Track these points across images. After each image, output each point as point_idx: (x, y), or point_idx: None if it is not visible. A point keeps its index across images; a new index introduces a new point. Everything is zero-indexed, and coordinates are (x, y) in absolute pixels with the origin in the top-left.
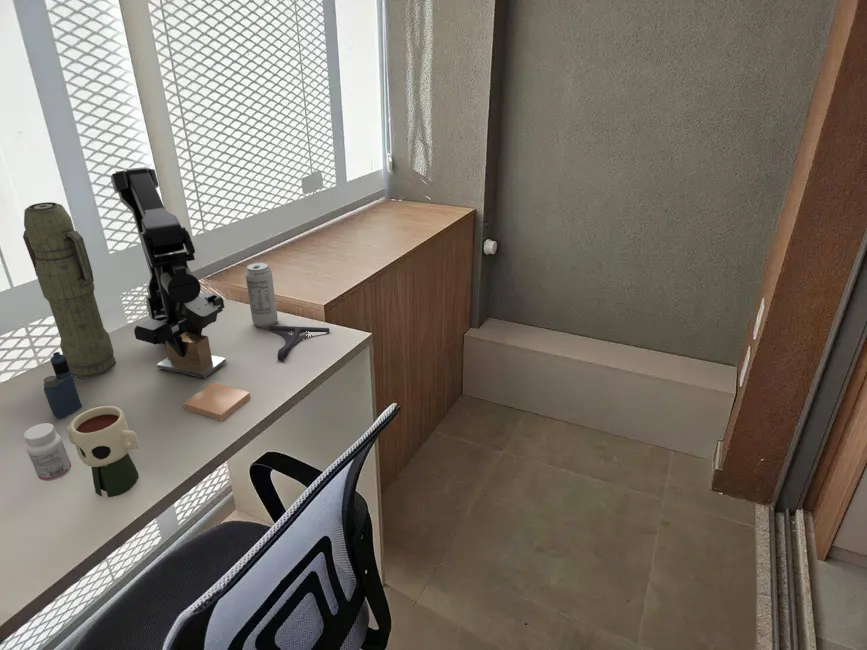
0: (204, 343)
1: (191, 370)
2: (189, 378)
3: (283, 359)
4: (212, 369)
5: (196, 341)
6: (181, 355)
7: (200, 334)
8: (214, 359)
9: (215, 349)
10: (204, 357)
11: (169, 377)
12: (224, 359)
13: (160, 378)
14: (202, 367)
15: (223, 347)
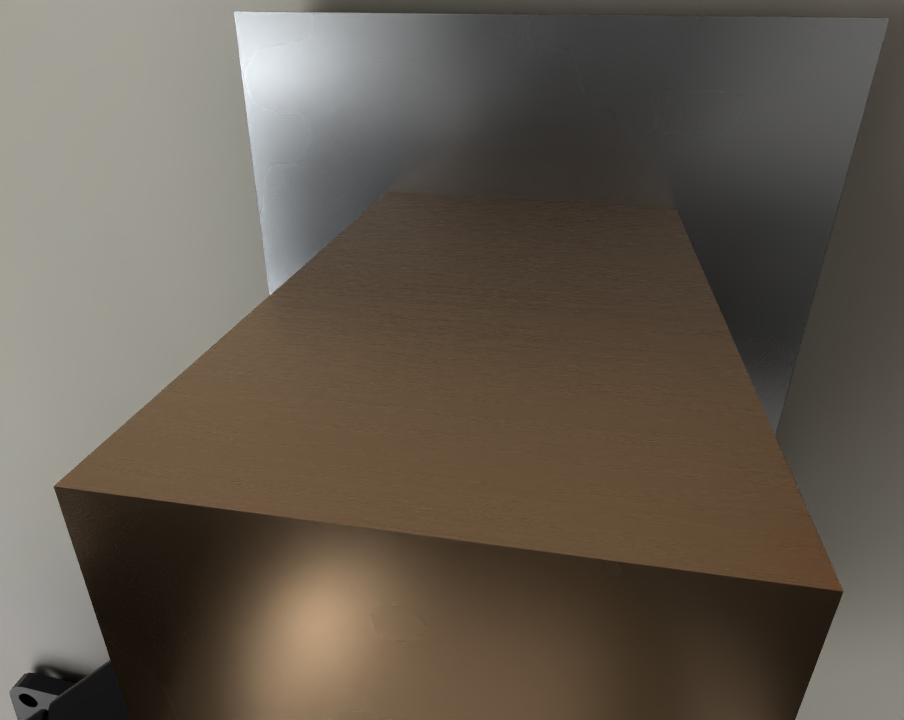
0: (381, 396)
1: (755, 336)
2: (820, 297)
3: None
4: (617, 18)
5: (602, 668)
6: None
7: (91, 706)
8: (346, 180)
9: (99, 381)
10: (540, 253)
11: (825, 536)
12: (266, 14)
13: (860, 608)
14: (647, 210)
15: (16, 319)
